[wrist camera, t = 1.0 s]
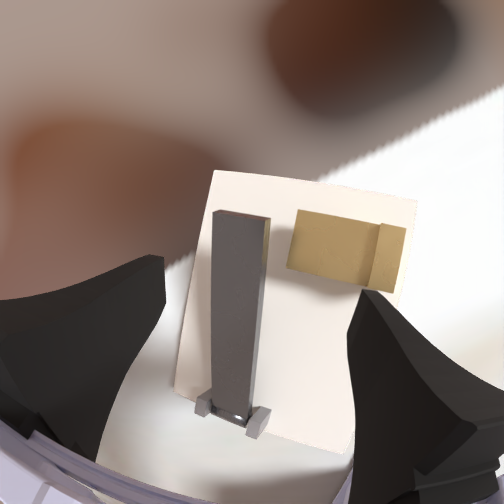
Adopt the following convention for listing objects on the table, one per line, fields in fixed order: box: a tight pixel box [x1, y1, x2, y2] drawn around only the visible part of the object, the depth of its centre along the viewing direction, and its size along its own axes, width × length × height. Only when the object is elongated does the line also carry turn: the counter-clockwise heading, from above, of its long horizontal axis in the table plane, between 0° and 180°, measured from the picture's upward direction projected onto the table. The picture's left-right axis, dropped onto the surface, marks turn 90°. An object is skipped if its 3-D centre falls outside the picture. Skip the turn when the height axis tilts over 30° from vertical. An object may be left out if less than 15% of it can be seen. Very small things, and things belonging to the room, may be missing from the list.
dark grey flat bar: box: [210, 209, 271, 428], centre depth 18 cm, size 16×3×1 cm, turn 168°
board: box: [173, 170, 417, 455], centre depth 21 cm, size 20×16×4 cm
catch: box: [286, 209, 406, 294], centre depth 18 cm, size 4×6×4 cm, turn 77°
